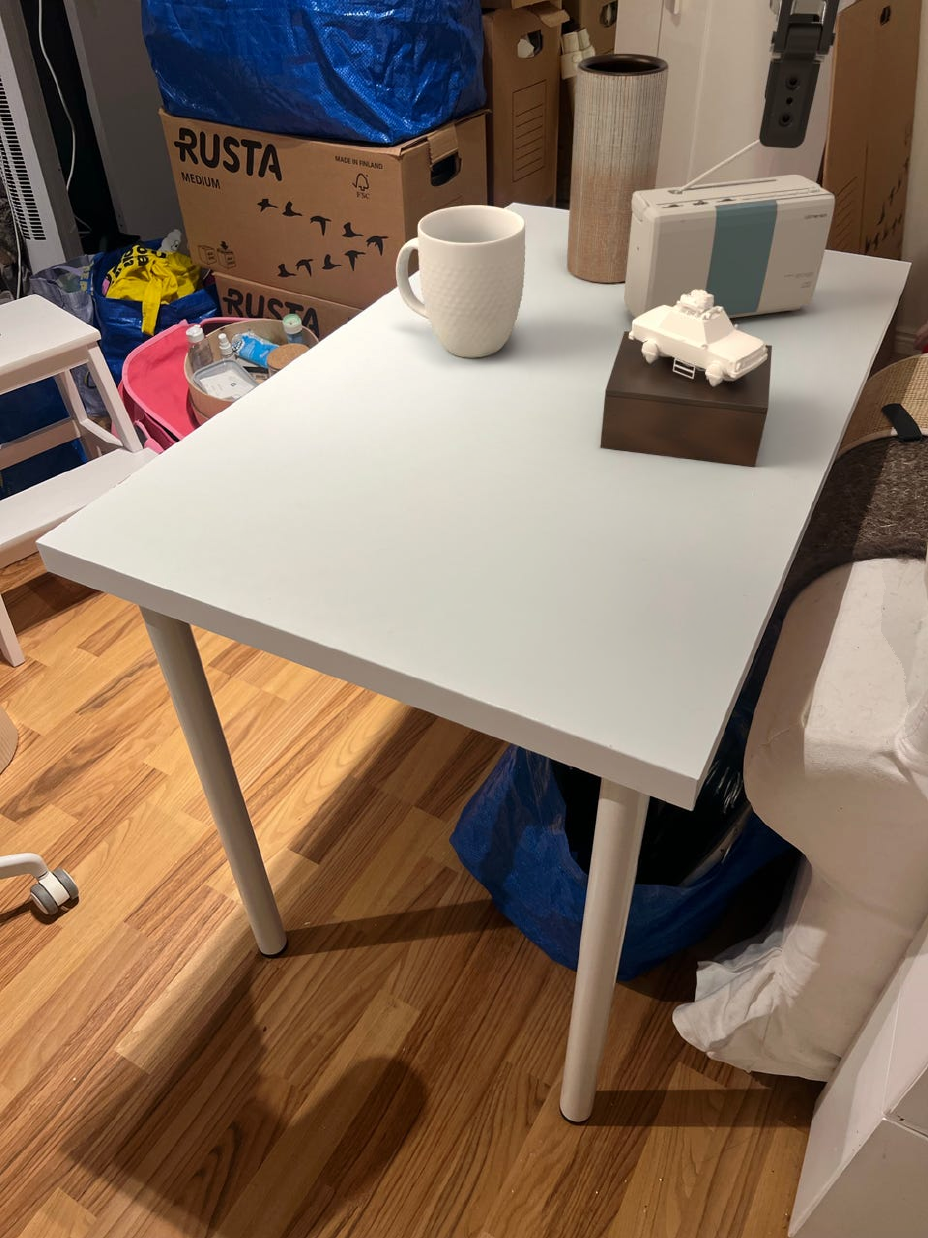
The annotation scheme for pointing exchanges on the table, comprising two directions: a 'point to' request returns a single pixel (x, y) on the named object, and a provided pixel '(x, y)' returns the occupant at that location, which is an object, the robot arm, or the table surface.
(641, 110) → the planter
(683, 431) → the stand
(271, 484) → the table surface
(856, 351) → the table surface
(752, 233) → the radio
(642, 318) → the toy car
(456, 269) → the mug
